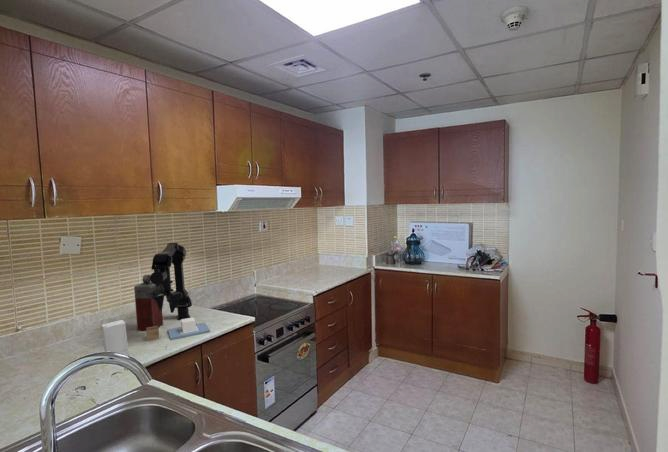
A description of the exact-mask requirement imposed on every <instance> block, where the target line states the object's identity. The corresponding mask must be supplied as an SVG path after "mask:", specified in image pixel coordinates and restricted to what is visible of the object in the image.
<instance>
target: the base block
mask: <svg viewBox="0 0 668 452" xmlns="http://www.w3.org/2000/svg"><path fill="white" fill-rule="evenodd" d="M196 324H197V323H196V320H195V318H194V317H190V318H186V319H180V327H181V330H182V332H183V333H185V332H190V331H195V330H196Z"/></svg>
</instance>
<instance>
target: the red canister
mask: <svg viewBox="0 0 668 452" xmlns="http://www.w3.org/2000/svg"><path fill="white" fill-rule="evenodd" d="M150 276H151V274H144V275H143V276H142V282H141V283H139V284H136V285H135V286H134V287H133V290H134V302H135V313H136V316H135V317H136V326H137V329H136V330H137V332H147V331H146V328H148V327H154V326H158V328H160V326H161V327H162V326H164V320H163V317H164V316H163V309H162V310H159V308H158V306H157V303H156V301H155V300H154V299H152V298H148V296H147V294H146V291H148V290H149V289H151V288H152V287H154V286H155V284H153V283H152V282H151V281H150Z"/></svg>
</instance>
